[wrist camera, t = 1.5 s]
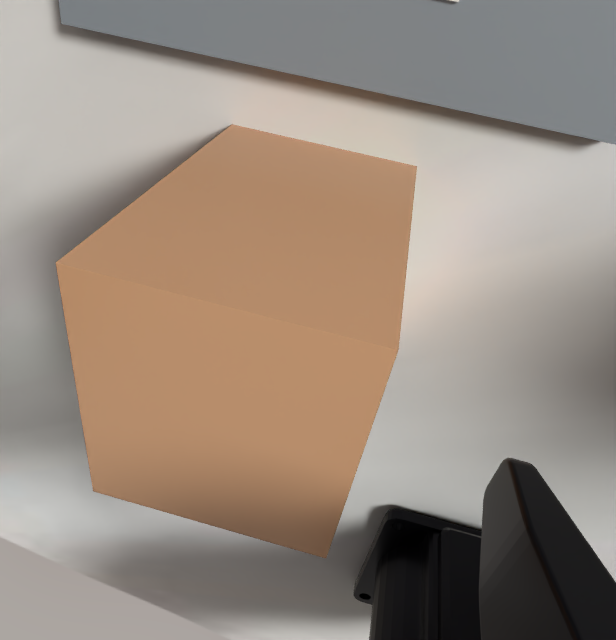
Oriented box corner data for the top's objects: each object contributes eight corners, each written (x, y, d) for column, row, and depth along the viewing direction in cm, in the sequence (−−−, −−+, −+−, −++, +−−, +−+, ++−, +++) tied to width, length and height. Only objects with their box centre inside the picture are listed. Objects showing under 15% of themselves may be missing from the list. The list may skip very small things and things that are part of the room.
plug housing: (370, 333, 15) (329, 559, 9) (219, 294, 15) (90, 490, 10) (418, 166, 12) (402, 351, 6) (229, 123, 12) (51, 261, 7)
